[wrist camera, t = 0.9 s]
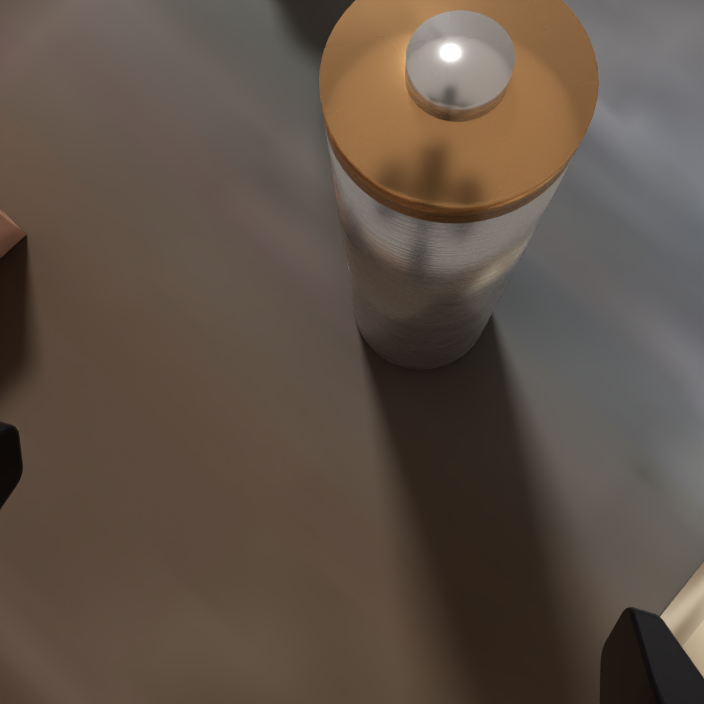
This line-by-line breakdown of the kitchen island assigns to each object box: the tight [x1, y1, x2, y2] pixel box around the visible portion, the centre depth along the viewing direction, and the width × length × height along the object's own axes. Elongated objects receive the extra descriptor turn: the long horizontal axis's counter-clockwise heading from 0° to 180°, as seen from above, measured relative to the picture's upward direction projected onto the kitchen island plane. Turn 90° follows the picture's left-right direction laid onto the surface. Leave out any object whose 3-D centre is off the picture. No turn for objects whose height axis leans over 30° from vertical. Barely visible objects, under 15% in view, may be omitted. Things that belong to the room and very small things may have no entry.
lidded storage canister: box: [319, 0, 599, 370], centre depth 17 cm, size 5×5×13 cm
